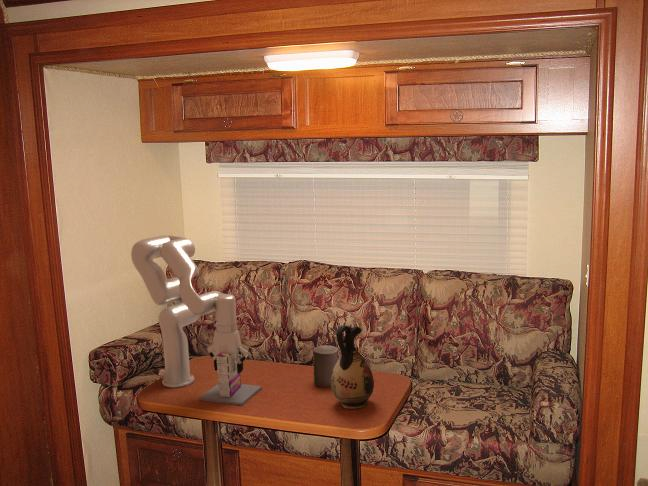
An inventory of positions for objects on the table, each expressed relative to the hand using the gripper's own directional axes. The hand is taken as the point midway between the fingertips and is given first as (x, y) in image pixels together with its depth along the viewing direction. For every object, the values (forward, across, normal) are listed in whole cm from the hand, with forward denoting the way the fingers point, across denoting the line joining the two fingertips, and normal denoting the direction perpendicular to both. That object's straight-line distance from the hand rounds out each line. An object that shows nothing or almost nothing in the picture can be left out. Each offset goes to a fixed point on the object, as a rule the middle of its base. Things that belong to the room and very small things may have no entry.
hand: (228, 370), depth 232 cm
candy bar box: (+8, 0, 0) cm, 9 cm away
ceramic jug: (+9, +48, +4) cm, 49 cm away
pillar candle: (+9, +32, +21) cm, 39 cm away
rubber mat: (+9, +1, 0) cm, 9 cm away
